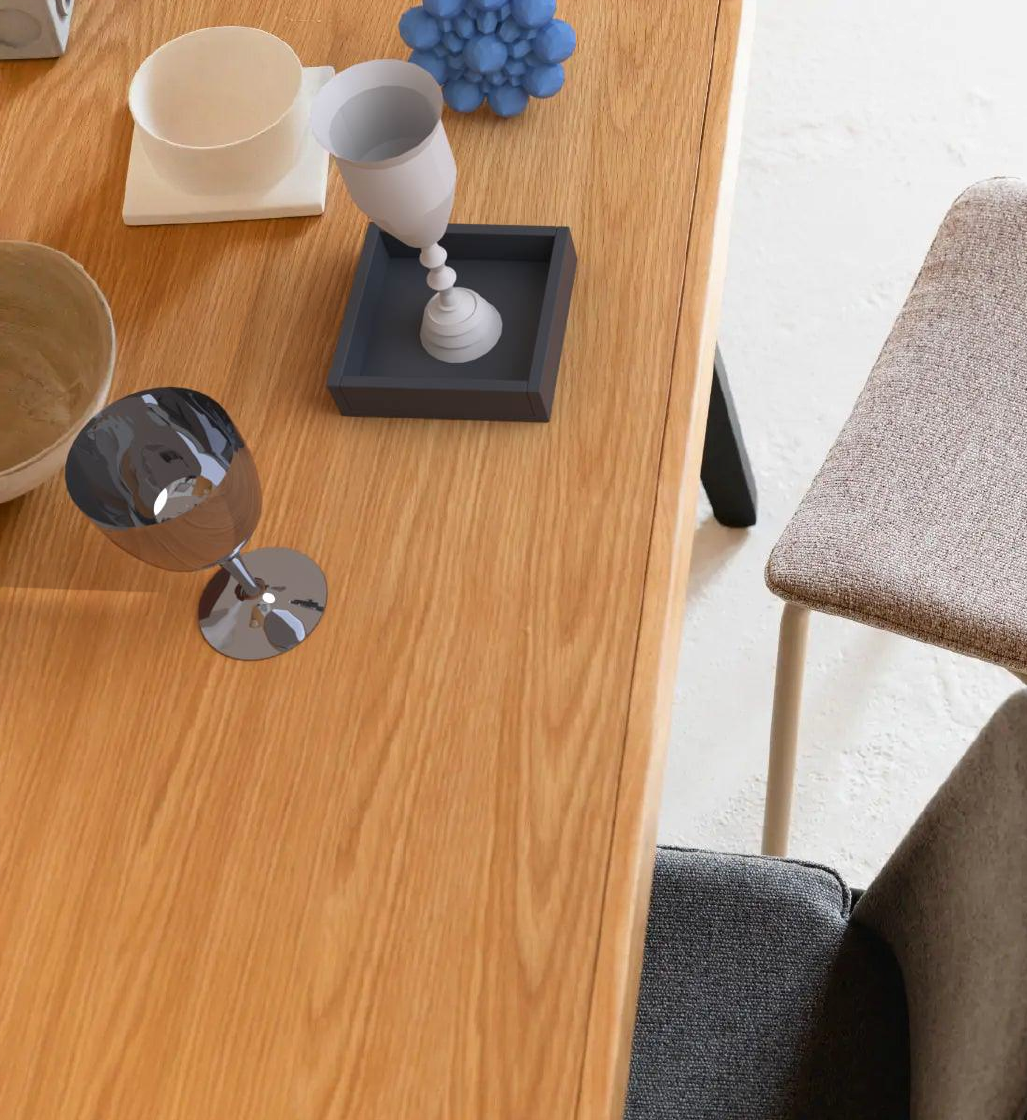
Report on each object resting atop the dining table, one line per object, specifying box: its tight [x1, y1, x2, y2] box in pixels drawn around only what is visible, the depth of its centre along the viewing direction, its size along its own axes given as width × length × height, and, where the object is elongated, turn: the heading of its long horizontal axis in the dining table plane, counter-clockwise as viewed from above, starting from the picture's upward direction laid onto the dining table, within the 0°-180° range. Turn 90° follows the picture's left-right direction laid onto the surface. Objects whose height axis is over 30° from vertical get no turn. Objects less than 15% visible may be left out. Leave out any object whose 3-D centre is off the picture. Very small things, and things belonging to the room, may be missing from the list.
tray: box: [325, 221, 579, 423], centre depth 91 cm, size 13×13×3 cm
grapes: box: [397, 0, 577, 119], centre depth 97 cm, size 12×7×12 cm, turn 87°
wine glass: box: [64, 386, 328, 662], centre depth 77 cm, size 8×8×15 cm
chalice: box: [308, 58, 502, 363], centre depth 84 cm, size 7×7×18 cm
